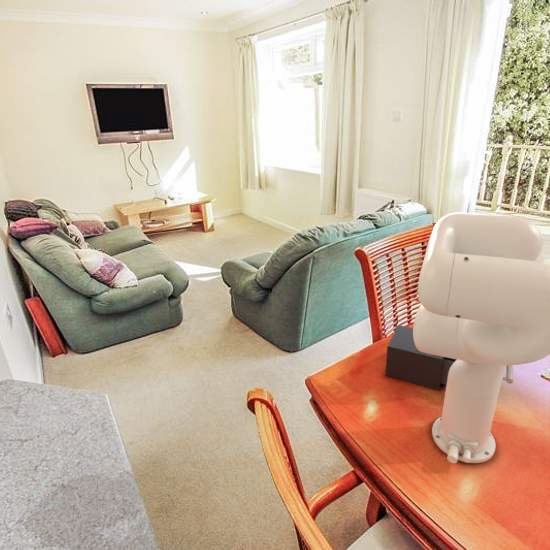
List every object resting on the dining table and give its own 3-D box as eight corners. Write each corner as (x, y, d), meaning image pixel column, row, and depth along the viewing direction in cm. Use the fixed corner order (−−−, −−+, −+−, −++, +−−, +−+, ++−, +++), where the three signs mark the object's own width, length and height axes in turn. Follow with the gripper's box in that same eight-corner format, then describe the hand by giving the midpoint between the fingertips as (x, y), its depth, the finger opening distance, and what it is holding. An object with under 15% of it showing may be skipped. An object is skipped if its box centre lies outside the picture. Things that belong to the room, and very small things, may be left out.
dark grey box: (445, 364, 106) (449, 335, 102) (438, 390, 97) (442, 359, 93) (396, 352, 113) (398, 324, 109) (385, 375, 104) (387, 346, 100)
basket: (509, 379, 98) (515, 354, 95) (508, 405, 90) (514, 379, 87) (436, 361, 107) (439, 337, 104) (429, 383, 99) (432, 358, 95)
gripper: (438, 291, 89) (430, 354, 96) (524, 305, 81) (508, 372, 88) (443, 279, 95) (435, 339, 102) (523, 291, 87) (509, 355, 94)
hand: (469, 354), depth 95 cm, fingers closed on onion, 5 cm apart
